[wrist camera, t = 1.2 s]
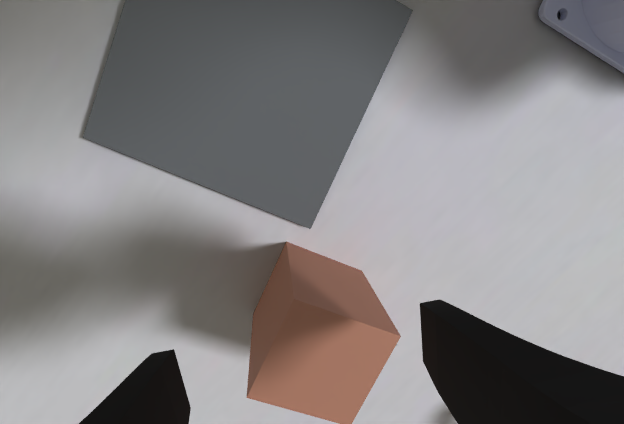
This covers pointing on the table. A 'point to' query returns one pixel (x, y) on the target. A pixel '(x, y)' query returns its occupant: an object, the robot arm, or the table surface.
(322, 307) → the brick-red block
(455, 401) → the robot arm
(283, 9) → the charcoal mat
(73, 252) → the table surface
